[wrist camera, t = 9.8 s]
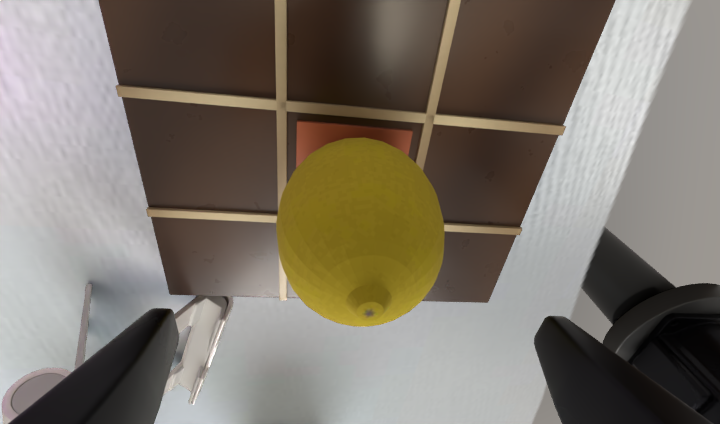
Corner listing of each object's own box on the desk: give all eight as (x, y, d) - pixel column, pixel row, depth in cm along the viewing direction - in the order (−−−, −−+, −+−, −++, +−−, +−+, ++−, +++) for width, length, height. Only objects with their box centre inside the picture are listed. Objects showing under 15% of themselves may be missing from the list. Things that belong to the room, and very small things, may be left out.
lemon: (299, 97, 14) (266, 201, 7) (432, 126, 14) (520, 241, 8) (282, 215, 16) (248, 372, 10) (395, 232, 17) (436, 386, 11)
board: (595, -15, 14) (627, -16, 12) (479, 285, 22) (489, 305, 21) (101, -86, 12) (69, -98, 10) (179, 275, 20) (167, 298, 18)
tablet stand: (206, 374, 25) (156, 526, 18) (81, 351, 23) (-32, 514, 16) (237, 292, 21) (189, 445, 14) (90, 254, 19) (-57, 413, 12)
